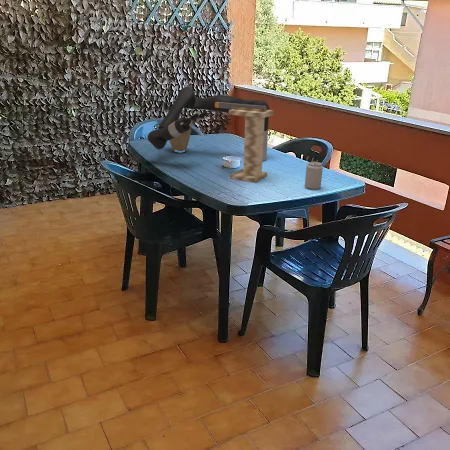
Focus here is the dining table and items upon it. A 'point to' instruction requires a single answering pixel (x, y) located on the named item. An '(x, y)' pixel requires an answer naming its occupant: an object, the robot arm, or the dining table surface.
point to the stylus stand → (252, 144)
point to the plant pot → (181, 141)
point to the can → (313, 175)
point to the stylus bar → (230, 105)
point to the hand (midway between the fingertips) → (202, 113)
